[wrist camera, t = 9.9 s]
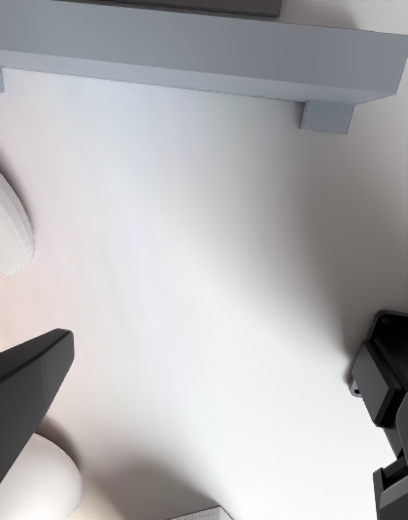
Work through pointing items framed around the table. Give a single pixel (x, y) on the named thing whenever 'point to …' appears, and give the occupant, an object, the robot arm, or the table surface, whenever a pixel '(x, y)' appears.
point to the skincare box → (206, 515)
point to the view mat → (219, 5)
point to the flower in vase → (40, 484)
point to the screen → (207, 54)
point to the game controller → (14, 232)
